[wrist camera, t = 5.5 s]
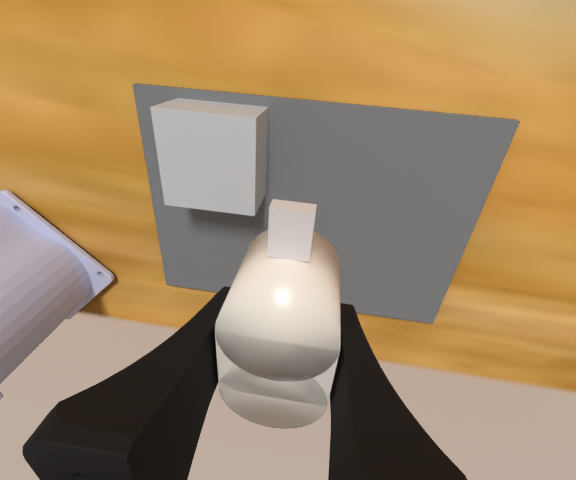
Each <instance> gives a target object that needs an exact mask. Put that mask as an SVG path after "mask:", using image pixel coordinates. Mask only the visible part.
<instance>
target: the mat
mask: <svg viewBox="0 0 576 480" xmlns="http://www.w3.org/2000/svg"><path fill="white" fill-rule="evenodd" d="M133 89H134V95H135V101H136V107H137V113H138V119H139V125H140V131H141V137H142V143H143V148H144V154H145V160H146V166H147V172H148V178H149V184H150V190H151V196H152V202H153V208H154V214H155V220H156V226H157V231H158V237H159V243H160V249H161V255H162V261H163V267H164V273H165V279H166V285H171V286H178V287H184V288H191V289H198V290H205V291H212V292H219V291H220V289H221V288H223V287H224V286H226V287H231V286H232V284H233V281H234V279H235V277H236V275H237V272H238V270H239V268H240V266H241V263H242V261H243V259H244V257H245V254H246V252H247V250H248V248H249V246H250V244H251V242H252V241H253V240H254V239H255V238H256V237H257V236H258V235H259V234H261V233H262V232H264V231H266V230H268V222H269V206H270V204H271V202H272V199H277V200H285V201H293V202H302V203H310V204H317V207H316V214H315V222H314V230H313V231H315V232H317V233H318V234H320V235H322V236H323V237H324V238H325V239H327V240H328V241H329V242H330V243H331V245H332V246H333V247H334V249H335V251H336V252H337V255H338V257H339V261H340V303H344V304H351V305H353V306H354V307H355V311H356V313H362V314H369V315H376V316H383V317H390V318H397V319H403V320H410V321H417V322H424V323H431V324H433V322H434V320H435V317H436V315H437V313H438V310H439V308H440V306H441V303H442V301H443V299H444V296H445V294H446V292H447V289H448V287H449V285H450V283H451V280H452V278H453V276H454V273H455V271H456V269H457V266H458V264H459V262H460V259H461V257H462V255H463V252H464V250H465V248H466V245H467V243H468V241H469V238H470V236H471V234H472V231H473V229H474V227H475V225H476V222H477V220H478V218H479V215H480V213H481V211H482V208H483V206H484V204H485V201H486V199H487V197H488V194H489V192H490V190H491V187H492V185H493V183H494V180H495V178H496V176H497V173H498V171H499V169H500V166H501V164H502V162H503V160H504V157H505V155H506V153H507V150H508V148H509V146H510V143H511V141H512V139H513V136H514V134H515V132H516V129H517V127H518V125H519V122H520V121H518V120H515V119H505V118H494V117H484V116H473V115H463V114H452V113H442V112H431V111H421V110H410V109H400V108H389V107H379V106H368V105H358V104H347V103H337V102H326V101H316V100H305V99H295V98H284V97H274V96H263V95H253V94H242V93H232V92H221V91H211V90H200V89H190V88H179V87H169V86H158V85H148V84H137V83H136V84H133ZM176 98H184V99H194V100H204V101H214V102H224V103H235V104H245V105H255V106H265V107H269V111H268V140H267V169H266V194H265V196H264V198H263V200H262V202H261V204H260V207H259V209H258V211H257V213H256V215H255V216H249V215H241V214H233V213H225V212H217V211H209V210H201V209H193V208H185V207H177V206H169V205H165V204H164V197H163V190H162V184H161V177H160V170H159V163H158V156H157V150H156V143H155V136H154V129H153V123H152V116H151V109H150V107H152V106H155V105H158V104H161V103H164V102H167V101H170V100H173V99H176Z"/></svg>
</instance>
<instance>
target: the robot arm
mask: <svg viewBox="0 0 576 480" xmlns="http://www.w3.org/2000/svg"><path fill="white" fill-rule="evenodd" d="M113 280H114V275H113V274H112V273H111V272H110V271H109V270H108V269H106V268H105V267H104V266H103V265H101V264H100V263H99V262H98V261H96V260H95V259H94V258H93V257H91V256H90V255H89V254H88V253H86V252H85V251H84V250H83V249H81V248H80V247H79V246H78V245H76V244H75V243H74V242H73V241H71V240H70V239H69V238H68V237H66V236H65V235H64V234H63V233H61V232H60V231H59V230H58V229H56V228H55V227H54V226H53V225H51V224H50V223H49V222H48V221H46V220H45V219H44V218H43V217H41V216H40V215H39V214H38V213H36V212H35V211H34V210H33V209H31V208H30V207H29V206H28V205H26V204H25V203H24V202H22V201H21V200H20V199H19V198H17V197H16V196H15V195H14V194H12V193H11V192H10V191H8V190H2V191H0V384H1V383H2V381H4V379H6V377H7V376H9V374H10V373H12V371H14V369H16V368H17V366H19V364H21V363H22V362H23V361H24V359H25V358H27V356H28V355H29V354H30V353H31V352H32V351H33V350H34V349H35V348H36V347H37V346H38V345H39V344H40V343H41V342H42V341H43V340H44V339H45V338H46V337H47V336H48V335H49V334H50V333H51V332H52V331H53V330H54V329H55V328H56V327H57V326H58V325H59V324H60V323H61V322H62V321H63V320H64V319H70V318H71V317H73V316H74V315H75V314H76V313H77V312H78V311H79V310H80V309H82V308H83V307H84V306H85V305H86V304H87V303H88V302H90V301H91V300H92V299H93V298H94V297H95V296H96V295H97V294H99V293H100V292H101V291H102V290H103V289H104V288H105V287H107V286H108V285H109V284H110V283H111V282H112V281H113ZM230 288H231V287H226V286H224V287H223V288H221V289H220V291H219V292H218V293H217V294H216V295H215V296H214V297H213V298H212V299H211V300H210V301H209V302H208V303H207V304H206V305H205V306H204V307H203V308H202V309H201V310H200V311H199V312H198V313H197V314H196V315H195V316H194V317H193V318H192V319H191V320H189V321H188V322H187V323H186V324H185V325H184V326H183V327H181V328H180V329H179V330H178V331H177V332H176V333H174V334H173V335H172V336H171V337H170V338H168V339H167V340H166V341H165V342H163V343H162V344H161V345H159V346H158V347H156V348H155V349H154V350H152V351H151V352H149V353H148V354H146V355H145V356H143V357H142V358H141V359H139V360H137V361H136V362H134V363H133V364H131V365H130V366H128V367H126V368H125V369H123V370H121V371H119V372H118V373H116V374H114V375H112V376H111V377H109V378H108V379H105V380H104V381H102V382H100V383H98V384H96V385H94V386H92V387H90V388H88V389H86V390H84V391H82V392H79V393H77V394H75V395H73V396H71V397H69V398H67V399H65V400H62V401H60V402H59V403H58V404H57V405H56V406H55V407H54V408H53V409H52V410H51V412H49V414H48V415H47V416H46V417H45V419H44V420H43V421H42V423H41V424H40V425H39V426H38V428H37V429H36V430H35V432H34V433H33V434H32V435H31V437H30V438H29V439H28V440H27V442H26V443H25V444H24V446H23V456H24V458H25V460H26V461H27V462H28V464H29V465H30V467H31V468H32V469H33V471H34V472H35V473H36V475H37V476H38V477H39V479H40V480H187V478H188V475H189V471H190V468H191V464H192V460H193V457H194V453H195V450H196V447H197V443H198V440H199V436H200V433H201V430H202V426H203V423H204V420H205V417H206V413H207V410H208V407H209V404H210V401H211V399H212V396H213V393H214V391H215V389H216V386H217V384H218V368H217V354H216V340H215V324H216V320H217V317H218V315H219V313H220V311H221V308H222V306H223V304H224V302H225V299H226V297H227V295H228V293H229V290H230ZM340 326H341V346H340V353H339V357H338V361H337V366H336V370H335V374H334V379H333V383H332V387H331V392H330V406H331V439H330V460H329V479H328V480H467V479H466V476H465V475H464V474H463V473H462V472H461V471H460V470H459V469H458V467H457V466H456V465H455V464H454V463H453V462H452V461H451V460H450V459H449V458H448V457H447V456H446V455H445V454H444V453H443V451H442V450H441V449H440V448H439V447H438V446H437V445H436V444H435V442H434V441H433V440H432V439H431V438H430V436H429V435H428V434H427V433H426V432H425V430H424V429H423V428H422V427H421V425H420V424H419V423H418V421H417V420H416V419H415V418H414V416H413V415H412V414H411V412H410V411H409V410H408V409H407V407H406V406H405V404H404V403H403V401H402V400H401V399H400V397H399V396H398V394H397V393H396V391H395V390H394V388H393V387H392V385H391V384H390V382H389V381H388V379H387V377H386V375H385V374H384V372H383V370H382V368H381V367H380V365H379V363H378V361H377V359H376V357H375V355H374V353H373V352H372V349H371V347H370V345H369V343H368V341H367V339H366V337H365V334H364V332H363V330H362V327H361V325H360V322H359V320H358V317H357V314H356V311H355V307H354V306H353V305H351V304H344V303H340ZM2 397H3V394H2V393H1V392H0V399H1V398H2Z"/></svg>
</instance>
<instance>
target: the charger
mask: <svg viewBox="0 0 576 480" xmlns="http://www.w3.org/2000/svg"><path fill="white" fill-rule="evenodd" d="M150 109H151V116H152V123H153V129H154V136H155V143H156V150H157V156H158V163H159V170H160V177H161V184H162V190H163V197H164V204H165V205H169V206H177V207H185V208H193V209H201V210H209V211H217V212H225V213H233V214H241V215H249V216H255V215H256V213H257V211H258V209H259V207H260V204H261V202H262V200H263V198H264V196H265V194H266V169H267V140H268V111H269V107H265V106H255V105H245V104H235V103H224V102H214V101H204V100H194V99H184V98H176V99H173V100H170V101H167V102H164V103H161V104H158V105H155V106H152V107H150Z"/></svg>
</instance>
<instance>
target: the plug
mask: <svg viewBox="0 0 576 480" xmlns="http://www.w3.org/2000/svg"><path fill="white" fill-rule="evenodd" d="M316 207H317V204H310V203H302V202H293V201H285V200H277V199H272V202H271V204H270V206H269V222H268V230H266V231H264V232H262V233H261V234H259V235H258V236H257V237H256V238H255V239H254V240H253V241H252V242H251V244H250V246H249V248H248V250H247V252H246V254H245V257H244V259H243V261H242V263H241V266H240V268H239V270H238V272H237V275H236V277H235V279H234V281H233V284H232V286H231V288H230V290H229V293H228V295H227V297H226V299H225V302H224V304H223V306H222V308H221V311H220V313H219V315H218V317H217V320H216V324H215V340H216V354H217V368H218V382H219V391H220V394H221V397H222V399H223V401H224V402H225V403H226V405H227V406H228V407H229V408H230V409H231V410H233V411H234V412H235V413H236V414H238V415H240V416H241V417H243V418H245V419H247V420H249V421H251V422H254V423H256V424H260V425H263V426H268V427H273V428H297V427H302V426H306V425H308V424H311V423H313V422H315V421H317V420H318V419H319V418H320V417H321V416H322V415H323V414H324V412H325V411H326V408H327V404H328V400H329V396H330V392H331V387H332V383H333V379H334V374H335V370H336V366H337V361H338V357H339V353H340V346H341V326H340V261H339V257H338V255H337V252H336V251H335V249H334V247H333V246H332V245H331V243H330V242H329V241H328V240H327V239H325V238H324V237H323V236H322V235H320V234H318V233H317V232H315V231H313V230H314V222H315V214H316Z"/></svg>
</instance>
